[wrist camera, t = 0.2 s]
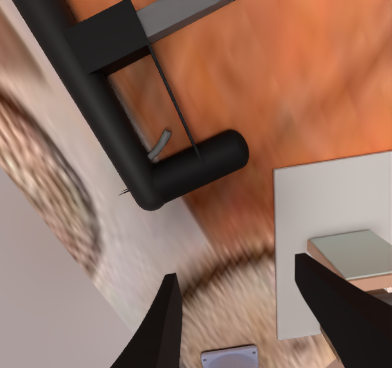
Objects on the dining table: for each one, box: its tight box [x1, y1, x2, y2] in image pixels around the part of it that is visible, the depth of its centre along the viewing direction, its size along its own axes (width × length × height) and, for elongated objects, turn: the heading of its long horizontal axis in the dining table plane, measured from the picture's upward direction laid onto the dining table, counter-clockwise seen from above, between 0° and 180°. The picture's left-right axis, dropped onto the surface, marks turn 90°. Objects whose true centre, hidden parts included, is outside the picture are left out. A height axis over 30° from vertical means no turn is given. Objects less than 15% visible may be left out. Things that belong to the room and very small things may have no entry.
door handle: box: [12, 0, 249, 211], centre depth 17 cm, size 3×20×16 cm
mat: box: [273, 150, 392, 340], centre depth 25 cm, size 25×14×1 cm, turn 9°
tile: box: [307, 230, 392, 291], centre depth 21 cm, size 2×7×6 cm, turn 98°
